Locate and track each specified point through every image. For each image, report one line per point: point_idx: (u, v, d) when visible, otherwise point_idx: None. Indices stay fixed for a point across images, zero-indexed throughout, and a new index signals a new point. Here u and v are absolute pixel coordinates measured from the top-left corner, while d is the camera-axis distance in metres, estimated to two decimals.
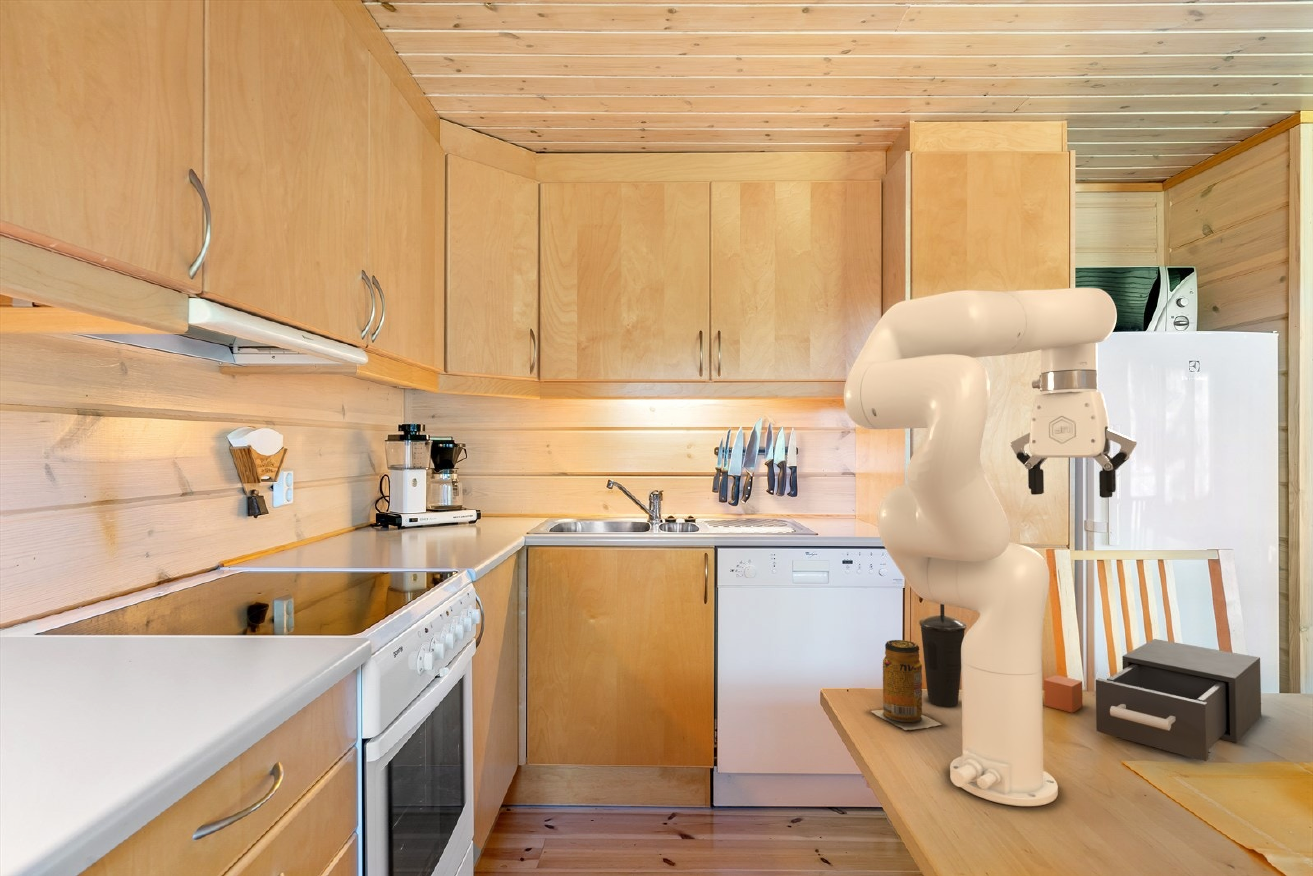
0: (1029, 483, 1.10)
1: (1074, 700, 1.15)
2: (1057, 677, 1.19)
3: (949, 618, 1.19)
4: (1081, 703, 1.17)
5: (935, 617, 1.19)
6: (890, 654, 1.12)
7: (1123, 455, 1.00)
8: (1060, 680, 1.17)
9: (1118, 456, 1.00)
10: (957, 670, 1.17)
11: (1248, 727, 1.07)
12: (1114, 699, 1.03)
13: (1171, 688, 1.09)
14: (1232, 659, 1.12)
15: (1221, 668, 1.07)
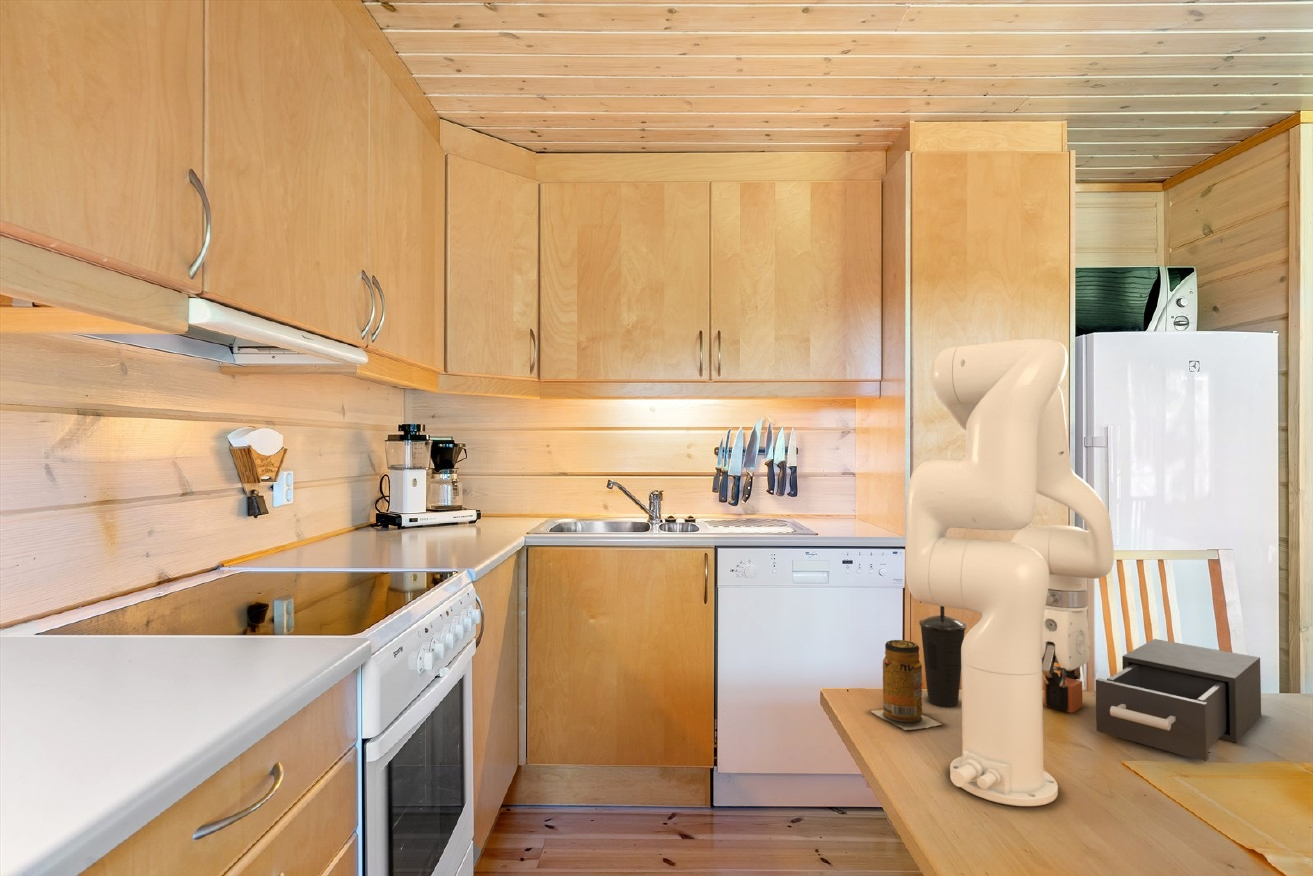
0: (1060, 701, 1.14)
1: (1074, 700, 1.15)
2: None
3: (949, 618, 1.19)
4: (1081, 703, 1.17)
5: (935, 617, 1.19)
6: (890, 654, 1.12)
7: None
8: None
9: None
10: (957, 670, 1.17)
11: (1248, 727, 1.07)
12: (1114, 699, 1.03)
13: (1171, 688, 1.09)
14: (1232, 659, 1.12)
15: (1221, 668, 1.07)
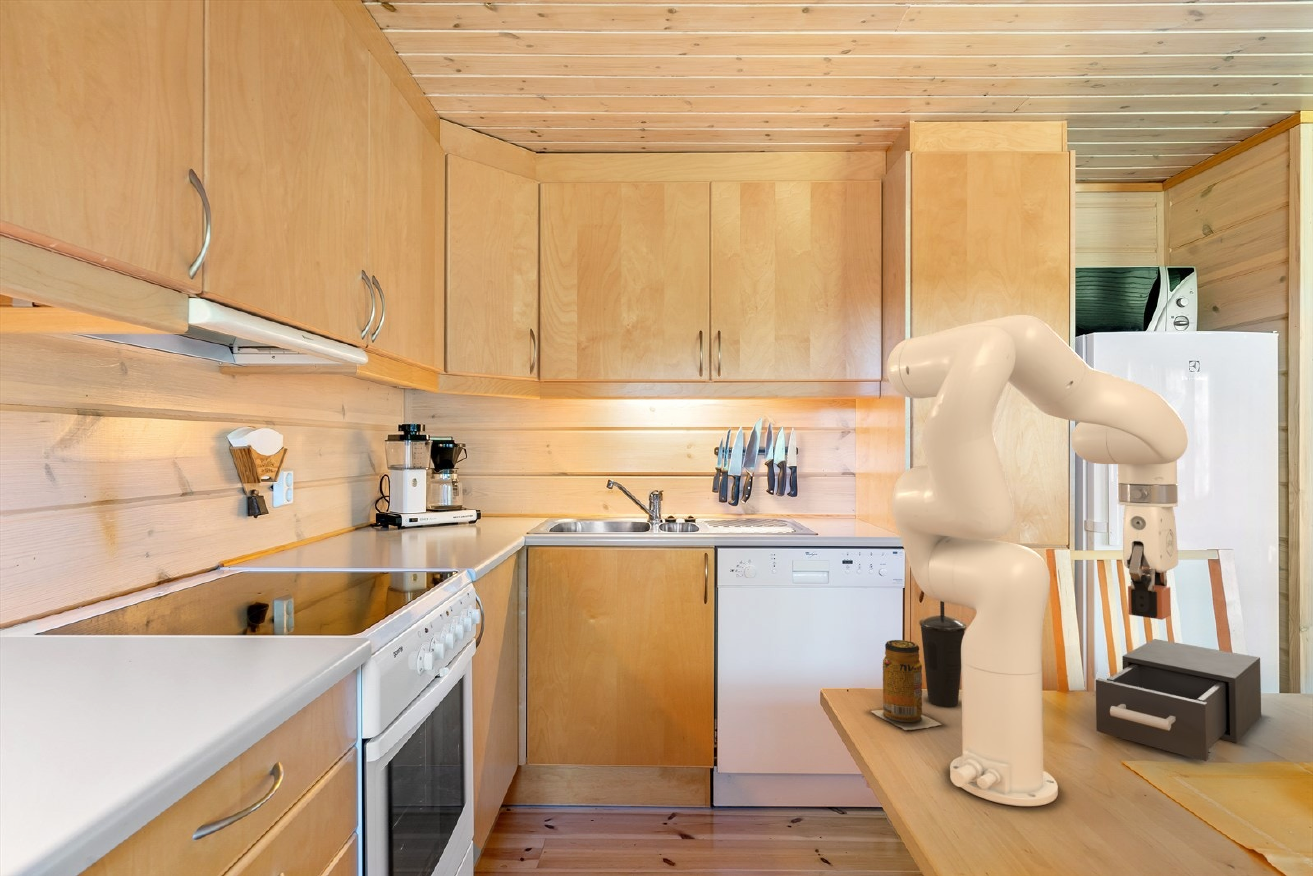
0: (1148, 606, 1.03)
1: (1163, 606, 1.04)
2: None
3: (949, 618, 1.19)
4: (1169, 611, 1.06)
5: (935, 617, 1.19)
6: (890, 654, 1.12)
7: (1165, 570, 1.09)
8: None
9: None
10: (957, 670, 1.17)
11: (1248, 727, 1.07)
12: (1114, 699, 1.03)
13: (1171, 688, 1.09)
14: (1232, 659, 1.12)
15: (1221, 668, 1.07)
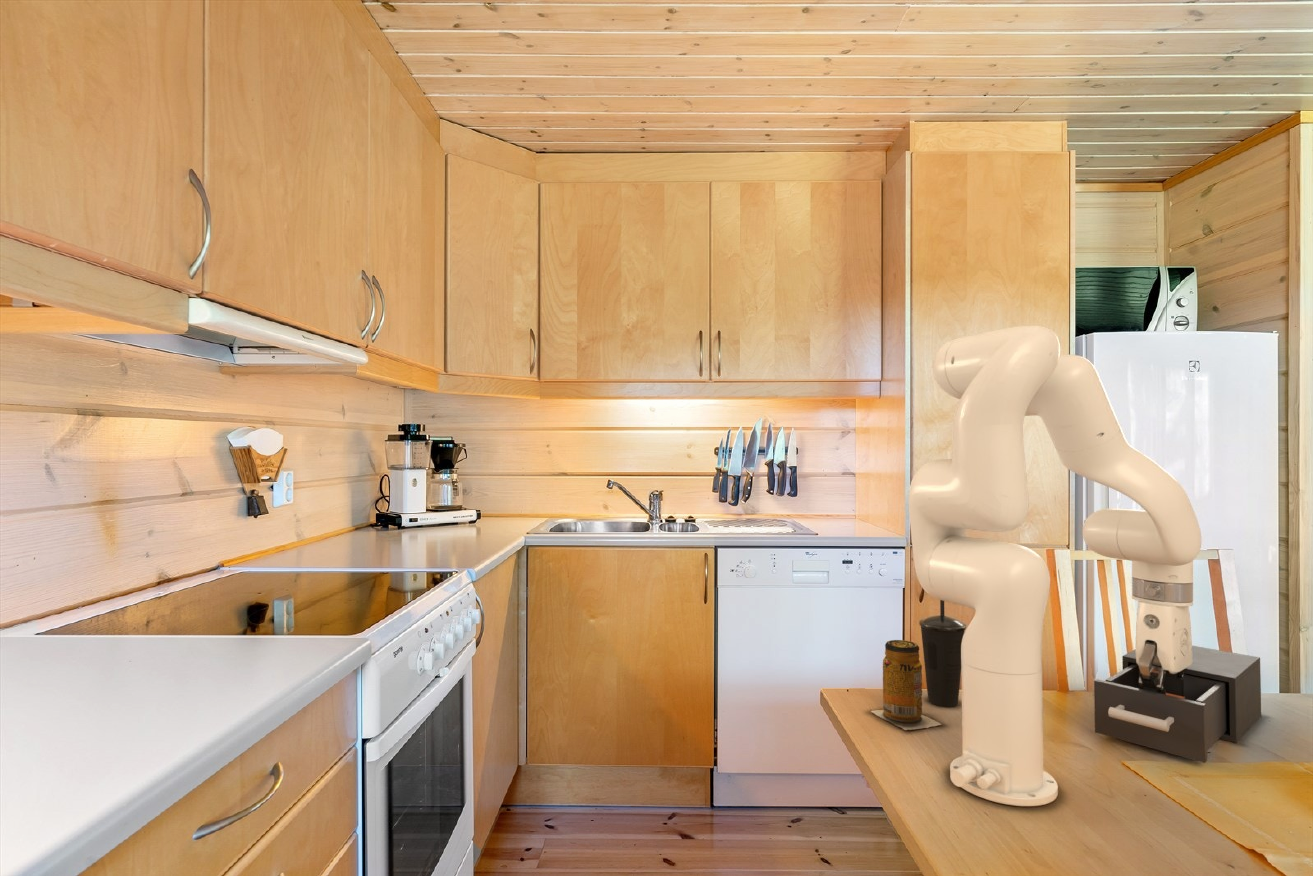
0: None
1: None
2: None
3: (949, 618, 1.19)
4: None
5: (935, 617, 1.19)
6: (890, 654, 1.12)
7: None
8: None
9: None
10: (957, 670, 1.17)
11: (1248, 727, 1.07)
12: (1112, 700, 1.02)
13: None
14: (1232, 659, 1.12)
15: (1221, 668, 1.07)
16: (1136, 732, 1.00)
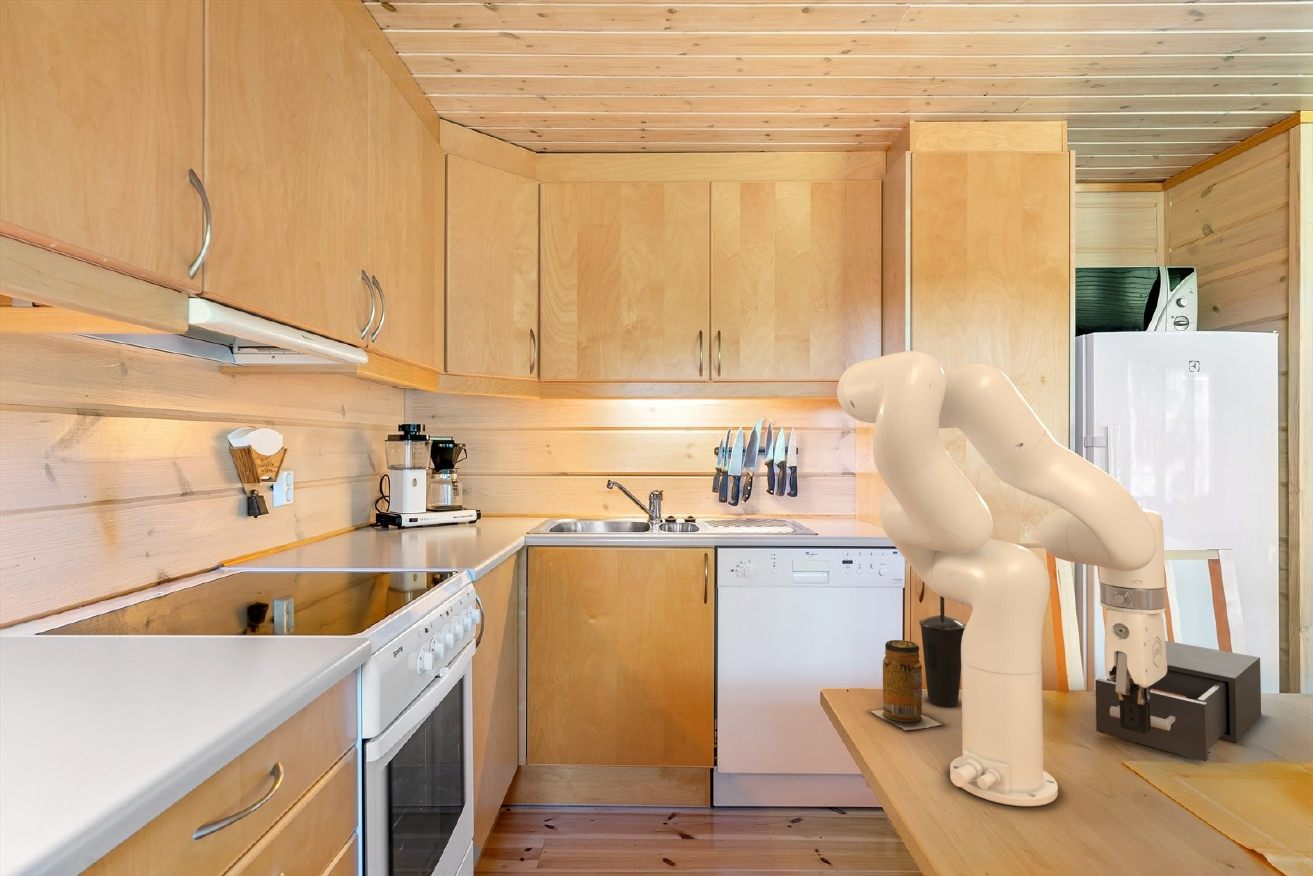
0: (1138, 721, 0.94)
1: None
2: None
3: (949, 618, 1.19)
4: None
5: (935, 617, 1.19)
6: (890, 654, 1.12)
7: None
8: None
9: None
10: (957, 670, 1.17)
11: (1248, 727, 1.07)
12: (1114, 699, 1.03)
13: (1171, 688, 1.09)
14: (1232, 659, 1.12)
15: (1221, 668, 1.07)
16: None
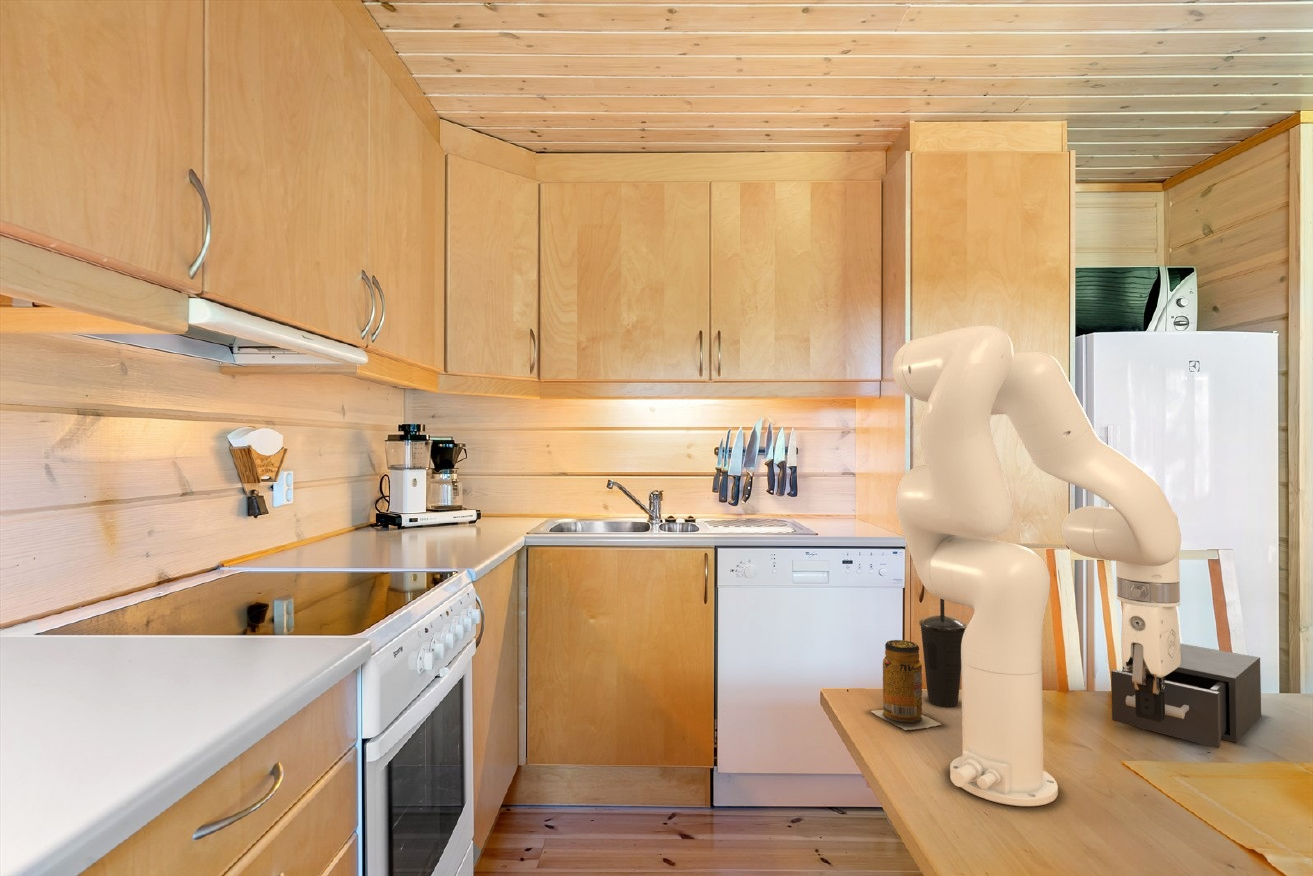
0: (1153, 710, 0.98)
1: None
2: None
3: (949, 618, 1.19)
4: None
5: (935, 617, 1.19)
6: (890, 654, 1.12)
7: None
8: None
9: None
10: (957, 670, 1.17)
11: (1248, 727, 1.07)
12: (1129, 690, 1.07)
13: (1183, 680, 1.13)
14: (1232, 659, 1.12)
15: (1221, 668, 1.07)
16: (1152, 720, 1.04)
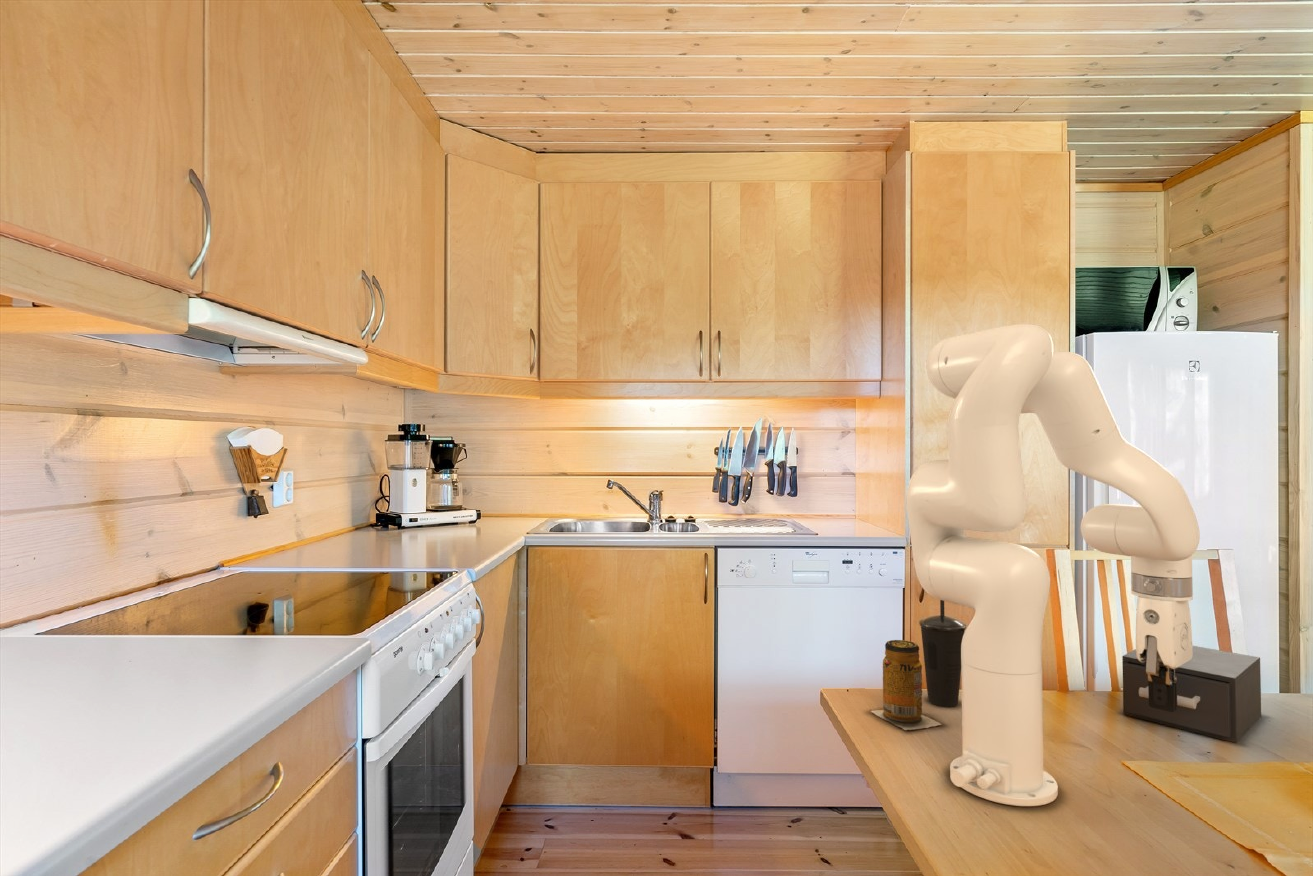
0: (1166, 700, 1.02)
1: None
2: None
3: (949, 618, 1.19)
4: None
5: (935, 617, 1.19)
6: (890, 654, 1.12)
7: None
8: None
9: None
10: (957, 670, 1.17)
11: (1248, 727, 1.07)
12: (1141, 681, 1.11)
13: None
14: (1232, 659, 1.12)
15: (1221, 668, 1.07)
16: (1164, 711, 1.08)
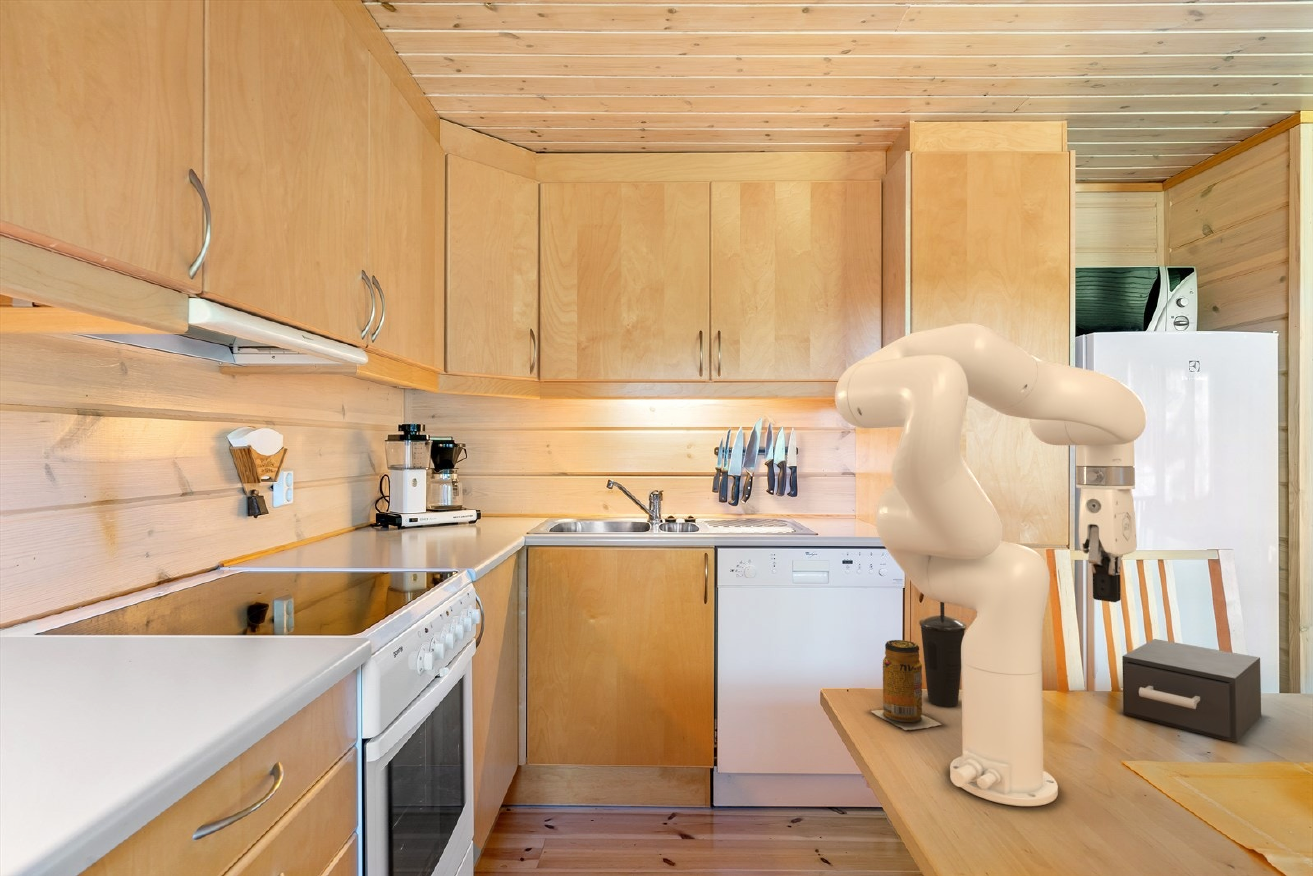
0: (1109, 590, 1.02)
1: None
2: None
3: (949, 618, 1.19)
4: None
5: (935, 617, 1.19)
6: (890, 654, 1.12)
7: None
8: None
9: None
10: (957, 670, 1.17)
11: (1248, 727, 1.07)
12: (1141, 681, 1.11)
13: None
14: (1232, 659, 1.12)
15: (1221, 668, 1.07)
16: (1164, 711, 1.08)
